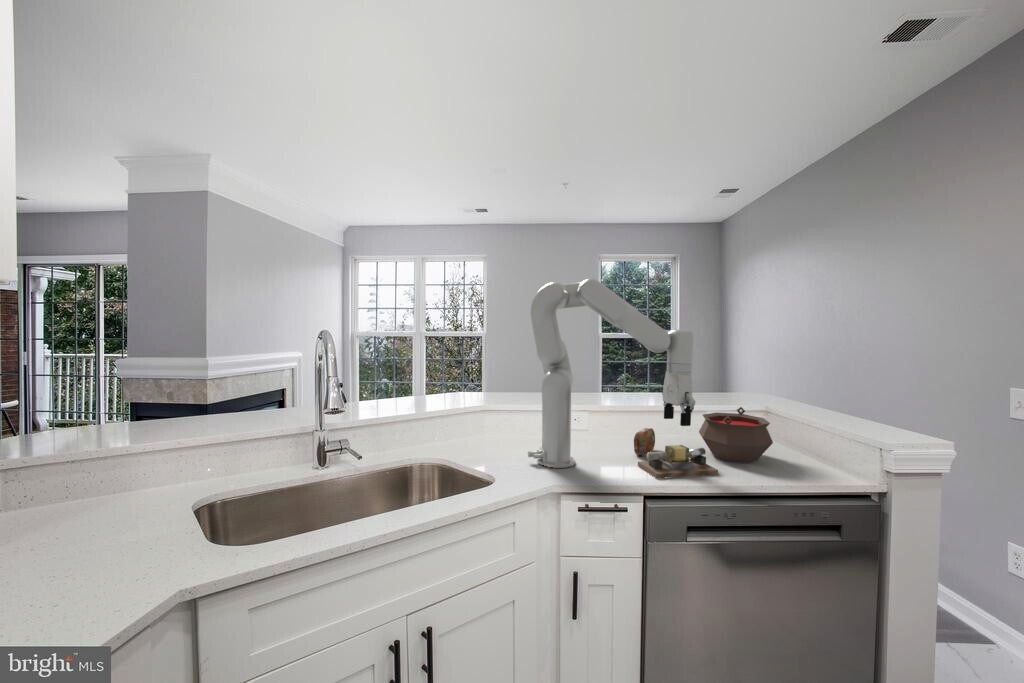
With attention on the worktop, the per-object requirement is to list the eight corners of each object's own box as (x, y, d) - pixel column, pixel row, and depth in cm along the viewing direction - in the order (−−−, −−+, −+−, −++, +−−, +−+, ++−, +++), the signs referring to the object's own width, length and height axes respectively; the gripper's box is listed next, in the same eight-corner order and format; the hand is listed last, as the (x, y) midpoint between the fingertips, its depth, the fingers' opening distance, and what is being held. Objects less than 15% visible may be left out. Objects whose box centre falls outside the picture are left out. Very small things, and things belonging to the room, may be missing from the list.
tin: (640, 458, 158) (641, 434, 157) (631, 456, 160) (632, 433, 159) (655, 449, 170) (656, 426, 169) (647, 447, 171) (648, 425, 171)
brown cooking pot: (766, 472, 143) (768, 421, 143) (688, 458, 158) (689, 412, 157) (777, 455, 163) (779, 410, 162) (706, 443, 177) (707, 402, 176)
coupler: (671, 464, 143) (671, 449, 142) (664, 461, 146) (665, 445, 146) (688, 463, 144) (689, 448, 144) (681, 460, 148) (682, 444, 147)
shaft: (694, 466, 144) (694, 452, 144) (683, 463, 148) (684, 449, 147) (707, 463, 148) (707, 449, 147) (696, 460, 151) (697, 446, 151)
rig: (656, 478, 137) (656, 458, 137) (637, 466, 149) (638, 447, 149) (718, 474, 141) (718, 455, 141) (695, 462, 153) (696, 444, 153)
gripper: (654, 365, 151) (652, 416, 152) (683, 371, 134) (681, 428, 135) (675, 365, 153) (672, 416, 154) (706, 372, 136) (703, 428, 137)
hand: (676, 422), depth 144 cm, fingers open, 9 cm apart
